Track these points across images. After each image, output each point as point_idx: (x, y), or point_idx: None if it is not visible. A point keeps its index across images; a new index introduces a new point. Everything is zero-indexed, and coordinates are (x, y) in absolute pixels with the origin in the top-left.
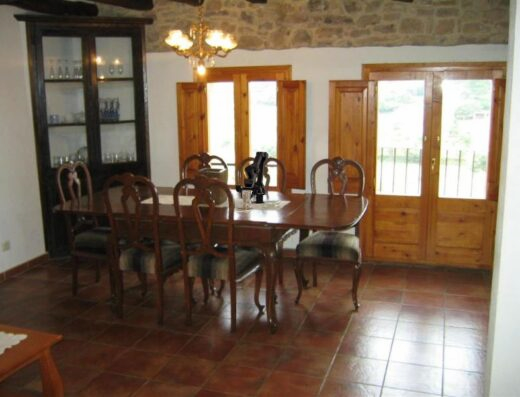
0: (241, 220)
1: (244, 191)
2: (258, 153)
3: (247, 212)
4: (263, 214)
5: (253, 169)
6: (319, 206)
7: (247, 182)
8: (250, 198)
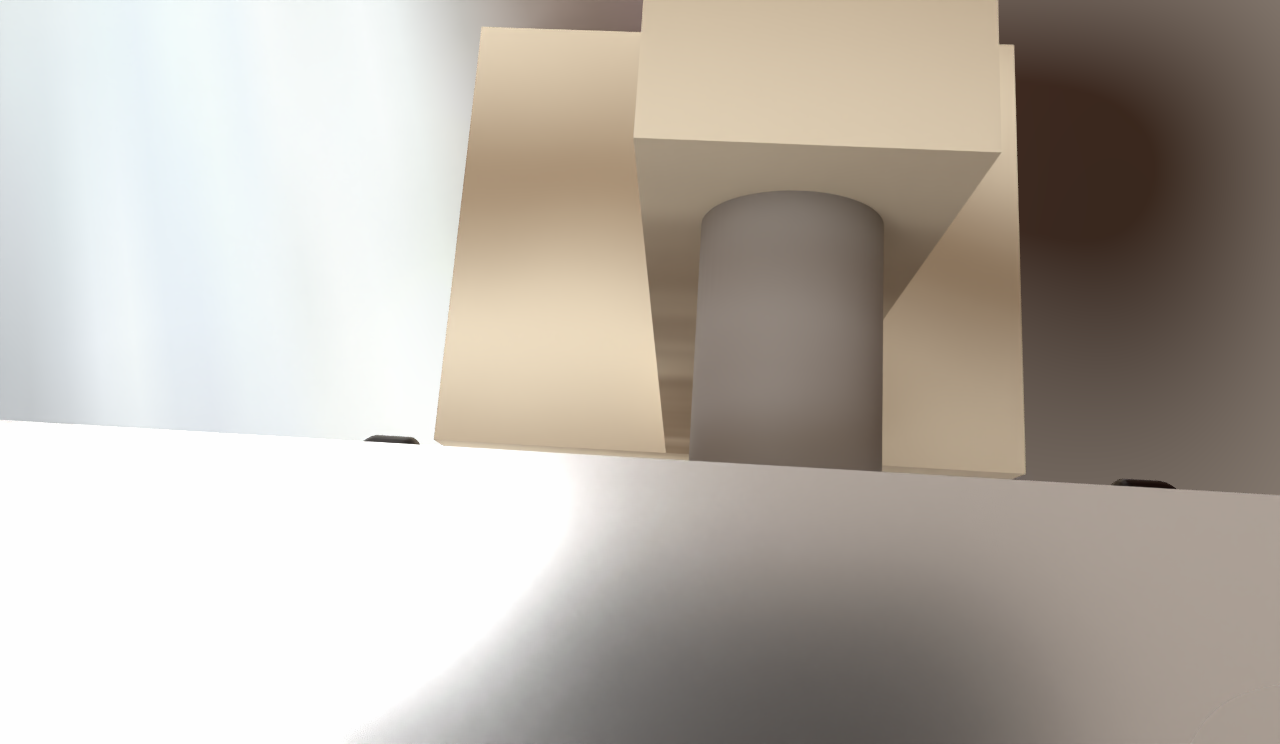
0: None
1: (1225, 517)
2: None
3: (532, 29)
4: (19, 205)
5: None
6: None
7: None
8: (382, 436)
